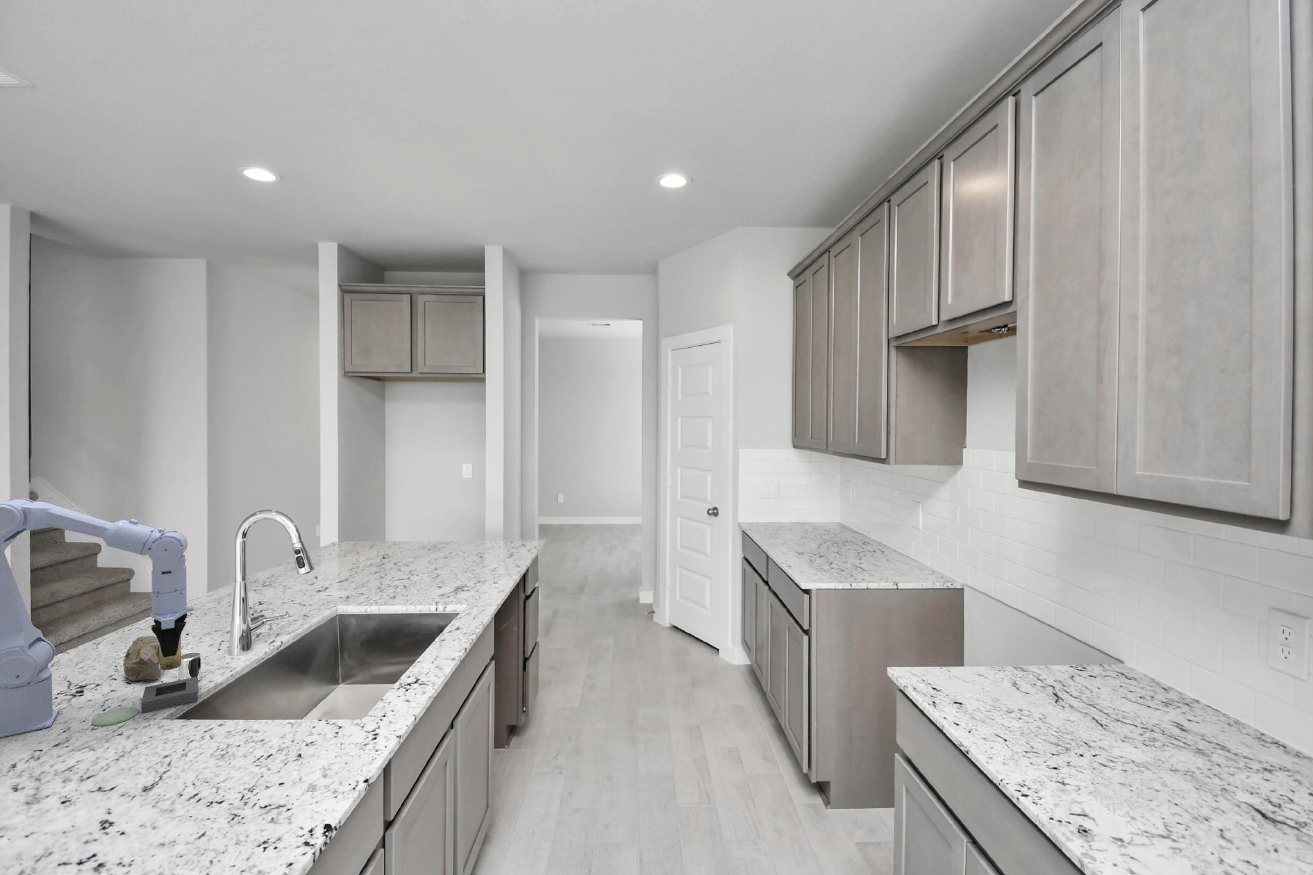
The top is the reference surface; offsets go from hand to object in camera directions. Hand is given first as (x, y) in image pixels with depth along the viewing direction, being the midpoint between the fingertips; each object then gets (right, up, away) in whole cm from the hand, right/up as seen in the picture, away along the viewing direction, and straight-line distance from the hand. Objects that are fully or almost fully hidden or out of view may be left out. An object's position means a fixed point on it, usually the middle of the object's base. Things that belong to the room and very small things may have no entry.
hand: (170, 652), depth 127 cm
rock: (-16, -10, +12) cm, 22 cm away
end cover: (0, -3, 0) cm, 3 cm away
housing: (0, -10, 0) cm, 10 cm away
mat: (-5, -10, -8) cm, 14 cm away
